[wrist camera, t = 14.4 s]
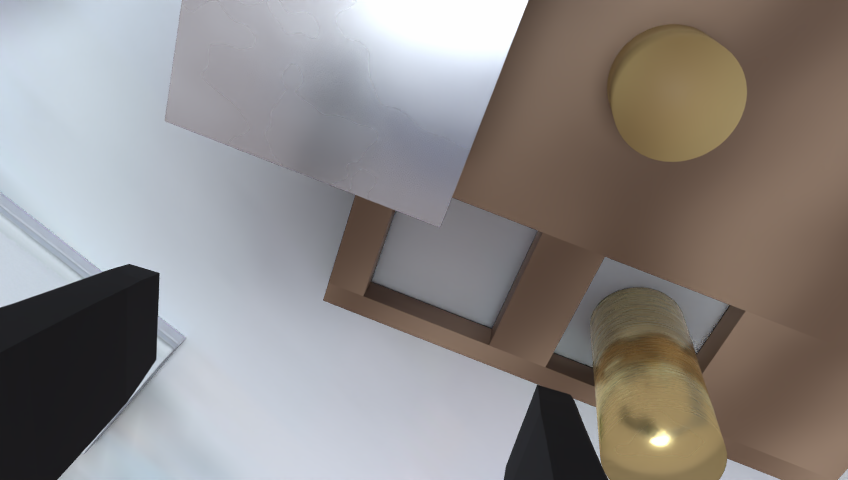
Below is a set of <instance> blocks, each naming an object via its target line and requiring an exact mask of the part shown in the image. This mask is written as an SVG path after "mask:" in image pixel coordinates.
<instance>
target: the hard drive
mask: <svg viewBox="0 0 848 480" xmlns="http://www.w3.org/2000/svg"><path fill="white" fill-rule="evenodd" d="M101 272H102V271H101V270H100V269H98V268H97V267H96V266H94V265H93V264H92V263H91V262H89V261H88V260H87V259H86V258H84V257H83V256H82V255H80V254H79V253H78V252H77V251H75V250H74V249H73V248H71V247H70V246H69V245H68V244H66V243H65V242H64V241H63V240H61V239H60V238H59V237H57V236H56V235H55V234H54V233H52V232H51V231H50V230H49V229H47V228H46V227H45V226H43V225H42V224H41V223H40V222H38V221H37V220H36V219H34V218H33V217H32V216H31V215H29V214H28V213H27V212H26V211H24V210H23V209H22V208H20V207H19V206H18V205H17V204H15V203H14V202H13V201H12V200H10V199H9V198H8V197H6V196H5V195H4V194H3V193H1V192H0V307H3V306H7V305H10V304H13V303H16V302H19V301H22V300H25V299H27V298H30V297H33V296H36V295H39V294H42V293H45V292H47V291H50V290H53V289H56V288H59V287H62V286H65V285H67V284H70V283H73V282H76V281H79V280H81V279H84V278H87V277H90V276H93V275H96V274H99V273H101ZM185 339H186V337H185V336H183V335H182V334H181V333H180V332H178V331H177V330H176V329H175V328H173V327H172V326H171V325H169V324H168V323H167V322H166V321H164V320H163V319H162V318H160V317H159V316H158V329H157V358H156V361H155V363H154V364H153V366H152V367H151V369H150V370H149V372H148V373H147V375H146V376H145V378H144V379H143V381H142V382H141V384H140V385H139V386H138V388H137V389H136V391H135V392H134V393H133V395H132V396H131V398H130V399H129V400H128V402H127V403H126V404H125V405H124V407H123V408H122V409H121V410H120V411H119V412H118V413H117V415H116V416H115V417H114V418H113V419H112V420H111V421H110V422H109V423H108V425H107V426H106V427H105V428H104V429H103V430H102V431H101V432H100V433H99V435H98V436H97V437H96V438H95V439H94V440H93V441H92V442H91V443H90V444H89V445H88V447H87V448H86V449H85V450H84V451H83V452H82V454H85V453H86V452H87V451H88V450H89V449H90V448H91V446H92V445H93V444H94V443H95V442H96V441H97V440H98V439H99V437H100V436H101V435H102V434H103V433H104V432H105V430H106V429H107V428H108V427H109V426H110V425H111V424H112V422H113V421H114V420H115V419H116V418H117V417H118V416H119V414H120V413H121V412H122V411H123V410H124V409H125V408H126V406H127V405H128V404H129V403H130V402H131V401H132V400H133V398H134V397H135V396H136V395H137V394H138V393H139V391H140V390H141V389H142V388H143V387H144V386H145V385H146V383H147V382H148V381H149V380H150V379H151V378H152V376H153V375H154V374H155V373H156V372H157V371H158V369H159V368H160V367H161V366H162V365H163V364H164V363H165V361H166V360H167V359H168V358H169V357H170V356H171V354H172V353H173V352H174V351H175V350H176V349H177V348H178V347H179V345H180V344H181V343H182V342H183V341H184V340H185Z"/></svg>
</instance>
